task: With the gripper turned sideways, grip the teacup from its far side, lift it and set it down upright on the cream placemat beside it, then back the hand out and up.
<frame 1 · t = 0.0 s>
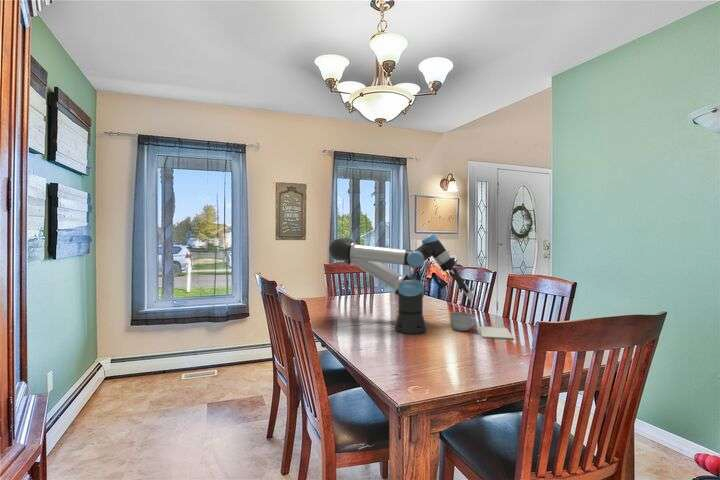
hand: (470, 296, 187), 15 cm above the table, tool tilted 35°, fingers open, 13 cm apart
teacup: (463, 330, 180), on the table
placemat: (495, 333, 174), on the table
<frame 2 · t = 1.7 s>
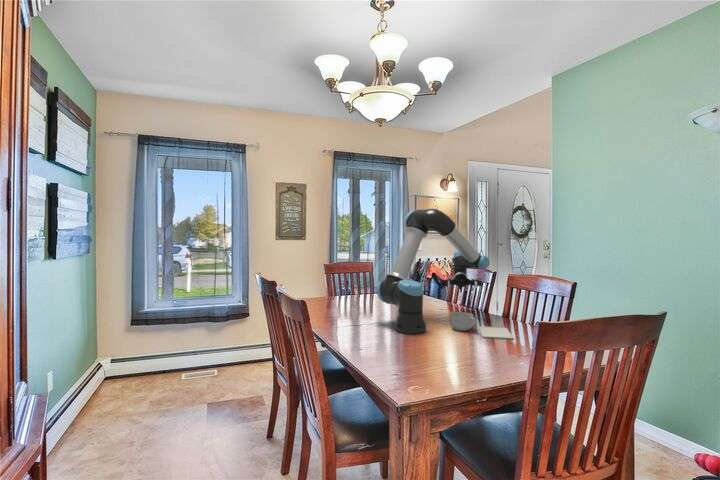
hand: (462, 285, 191), 20 cm above the table, tool horizontal, fingers open, 13 cm apart
nothing on the table moved.
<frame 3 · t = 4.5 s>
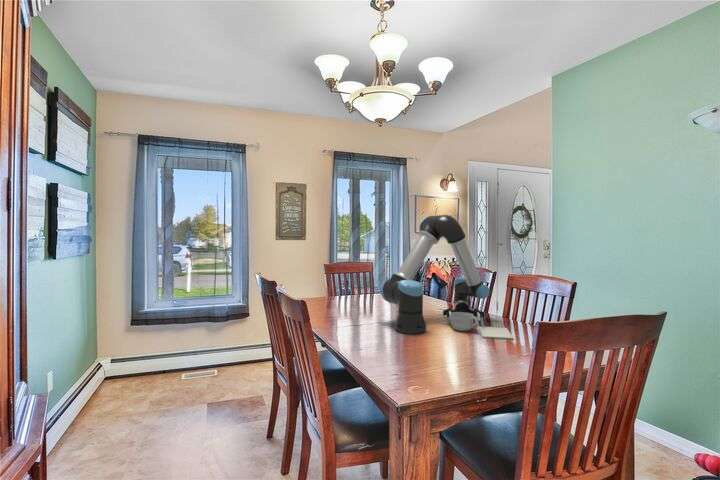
hand: (464, 317, 182), 6 cm above the table, tool horizontal, fingers open, 13 cm apart
teacup: (464, 331, 179), on the table, touching gripper
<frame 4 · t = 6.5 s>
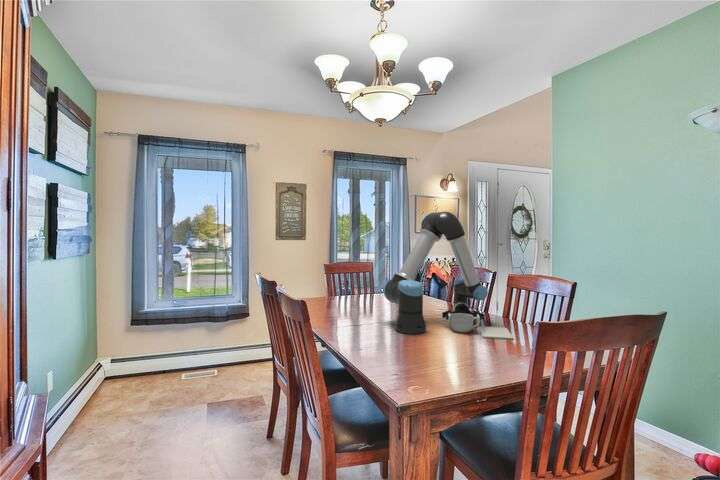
hand: (464, 319, 176), 6 cm above the table, tool horizontal, fingers closed on teacup, 13 cm apart
teacup: (464, 332, 177), on the table, touching gripper
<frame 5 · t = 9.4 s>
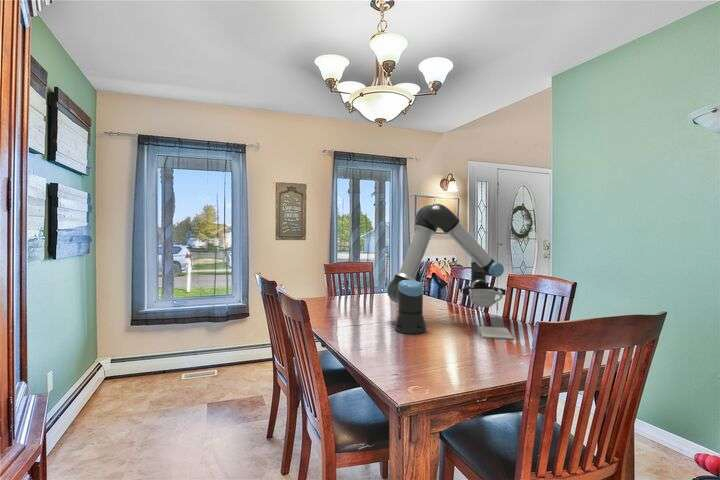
hand: (485, 294, 173), 18 cm above the table, tool horizontal, fingers closed on teacup, 13 cm apart
teacup: (486, 307, 174), point 12 cm above the table, touching gripper
when the fingers open (8 cm above the table, at t = 12.8 s): teacup drops 1 cm, resting on placemat.
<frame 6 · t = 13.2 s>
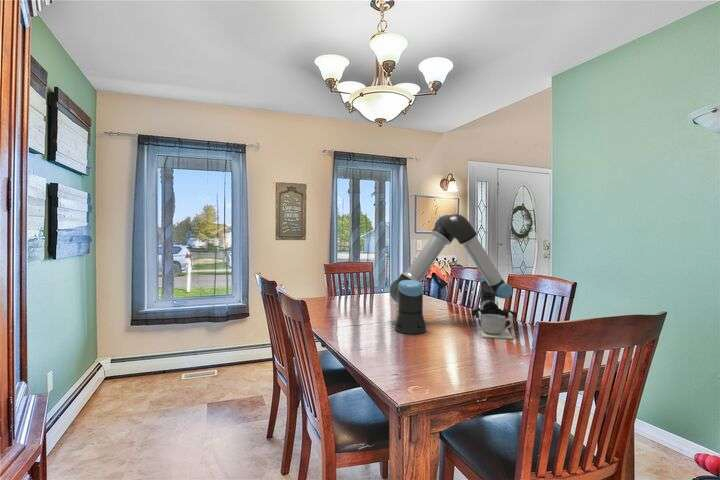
hand: (495, 317, 171), 8 cm above the table, tool horizontal, fingers open, 13 cm apart
teacup: (496, 333, 172), resting on placemat, touching gripper
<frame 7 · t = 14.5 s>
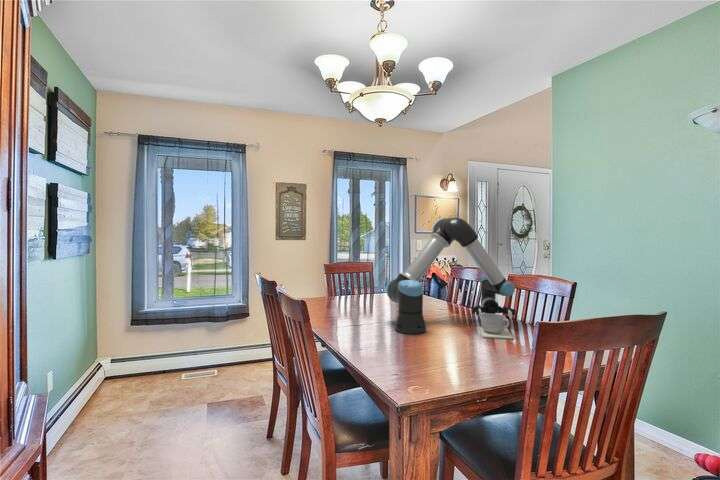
hand: (495, 314, 176), 8 cm above the table, tool horizontal, fingers open, 13 cm apart
teacup: (495, 333, 173), resting on placemat
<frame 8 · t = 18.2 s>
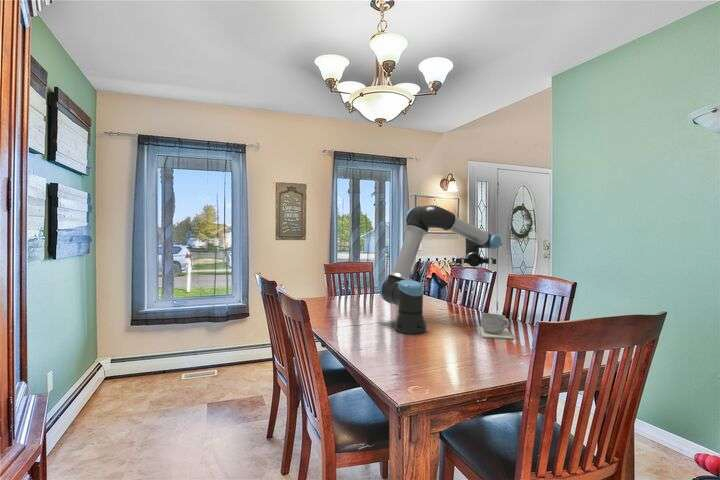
hand: (477, 262, 187), 32 cm above the table, tool horizontal, fingers open, 13 cm apart
nothing on the table moved.
at the end: teacup inside the target area (1.3 cm from its centre), resting on placemat; teacup tilted 0°; the gripper is holding nothing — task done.
